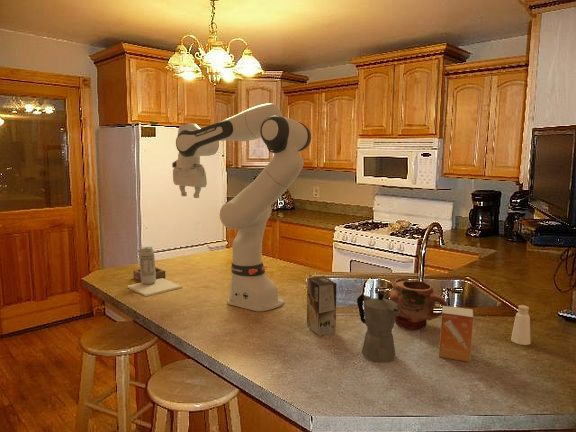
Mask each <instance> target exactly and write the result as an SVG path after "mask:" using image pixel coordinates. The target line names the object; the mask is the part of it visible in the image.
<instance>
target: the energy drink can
mask: <svg viewBox="0 0 576 432" xmlns="http://www.w3.org/2000/svg"><path fill="white" fill-rule="evenodd" d="M138 255H139V269H140V273H141V281H140V283H143V284H144V285H149V284H153V283H155V281H156V271H155V267H156V260H155V257H156V256H155V251H154V249H153V247H152V246H145V247H144V246H142V247H140V250H139V251H138Z"/></svg>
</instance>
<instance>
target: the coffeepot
mask: <svg viewBox="0 0 576 432" xmlns="http://www.w3.org/2000/svg"><path fill="white" fill-rule="evenodd" d="M356 303H357V307H358V312H359V313H358V314H359V318H360V322H361V323H363V324H365V326H366V328H367V329H366V332H365V335H364V340H363V344H362V349H361V354H362V356H363V357H364V358H365V359H366V360H368V361H371V362H374V363H388V362H392V361H394V359H395V357H396V349H395V342H394V335H393V332H392V331H393V329H394V327H395V324H396V322H395V318H396V315H397V314H399V313H400V310H399V309H398V304H396V303H395V302H394V301H392V300H390V299H387V298H384V292H378V293H377V298H376V297H375V298H374V297H373V298H372V297H371V296H370V295H365V294H363V293H362V294H360V295H359V296H358V297H357V298H356Z"/></svg>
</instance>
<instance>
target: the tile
mask: <svg viewBox="0 0 576 432" xmlns="http://www.w3.org/2000/svg"><path fill="white" fill-rule="evenodd" d="M127 289H130V290H132V291H133V292H136V293H138V294H140V295H141V296H143V297H151V296H154V295H158V294H162V293H166V292H171V291H175V290H179V289H183V285H181V284H178V283H177V282H176V283H175V282H173V281H171V280H169V279H166V278H165V279H164V278H160V279H156V281H155V283H153V284H149V285H144V284H143V283H142V282H137V283H133V284H129V285H127Z"/></svg>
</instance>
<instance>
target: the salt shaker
mask: <svg viewBox="0 0 576 432" xmlns="http://www.w3.org/2000/svg"><path fill="white" fill-rule="evenodd" d="M517 308H518V309H517V310H518V311H517V312H515V313H516V314H515V318H514V323H513V327H512V328H513V329H512V332H511V337H510V338H511V339H510V340H511V342H512V343H515V344H516V345H520V346H521V345H522V346H528V345H531V318H530V314H529V310H530V307H529V306H527V305H523V304H520V305H518V306H517Z"/></svg>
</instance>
